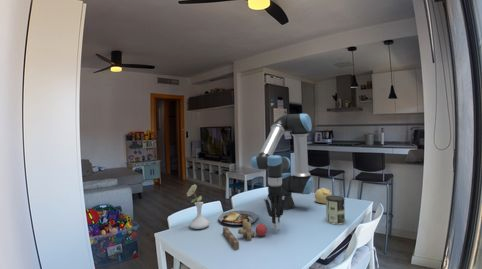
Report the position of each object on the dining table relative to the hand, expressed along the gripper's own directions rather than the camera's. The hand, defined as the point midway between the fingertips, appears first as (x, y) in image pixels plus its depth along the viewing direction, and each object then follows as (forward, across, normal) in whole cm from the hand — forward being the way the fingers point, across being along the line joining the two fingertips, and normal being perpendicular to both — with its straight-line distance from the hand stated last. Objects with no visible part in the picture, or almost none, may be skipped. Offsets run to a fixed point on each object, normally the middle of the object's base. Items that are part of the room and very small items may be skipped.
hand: (276, 228), depth 135 cm
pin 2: (+2, -16, -2) cm, 17 cm away
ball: (-1, -9, 0) cm, 9 cm away
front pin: (+1, -13, 0) cm, 13 cm away
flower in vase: (+2, -37, +24) cm, 44 cm away
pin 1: (+2, -16, +2) cm, 17 cm away
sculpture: (+2, +57, +34) cm, 66 cm away
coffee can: (+2, +39, 0) cm, 39 cm away
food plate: (+3, -12, +26) cm, 29 cm away
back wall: (+2, -26, 0) cm, 26 cm away
